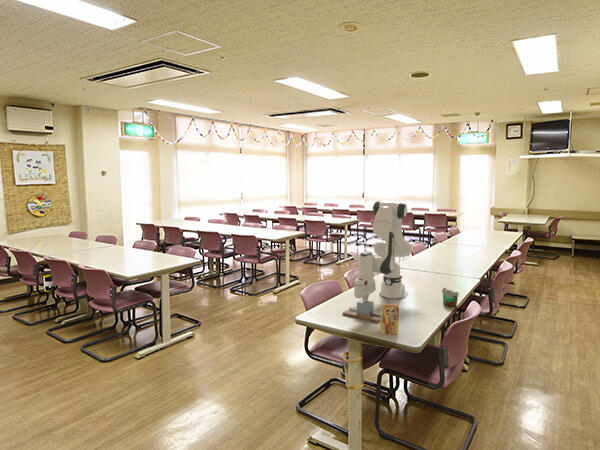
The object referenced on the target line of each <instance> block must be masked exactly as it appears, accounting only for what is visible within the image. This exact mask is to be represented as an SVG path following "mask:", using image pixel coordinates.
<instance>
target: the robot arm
mask: <svg viewBox="0 0 600 450" xmlns="http://www.w3.org/2000/svg"><path fill="white" fill-rule="evenodd" d="M372 213H373V214H374V216H375V217H374V220H373V224H372V231H373V233H374V235H375V236H376V237H378V239H381V240H379V241H376V242H375V244H374V245H373V251H374V253H373V252H372V251H362V252H360V254H359V256H358V264H357V265H358V266H357V267H358V275H357V277H356V278H355V279H354V281H353V284H354V287H353V290H354V292H353V293H354V295H353V296H354V297H355V298H356V299H361V300H363V302H364V303H365V302H367V301H369V297H370V295H371V294H372V293H375V292H376V285H377V284H376V280H375V278H374V273H379V274H383V276H382V282H381V286H380V291H379V292H378V294H379V295H381V297H383V298H387V299H405V298H406V297H407V296H408V294H409V291H408V290H406V285H405V284H404V283H403V282H402V279H403V275H401V265H400V263H398V262H397V261H395V258H405V257H410V256H411V254H412V252H413V247H412V245H411V243H409V241H408V240H407V239H405V237H404V236H403V232H402V231H403V229H402V228H403V226H402V225H403V219H404V218H406V216H407V214H408V206H407V205H406V203H404V202H399V201H392V200H377V201H375V202H374V203H373V207H372ZM374 254H375V255H374Z"/></svg>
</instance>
